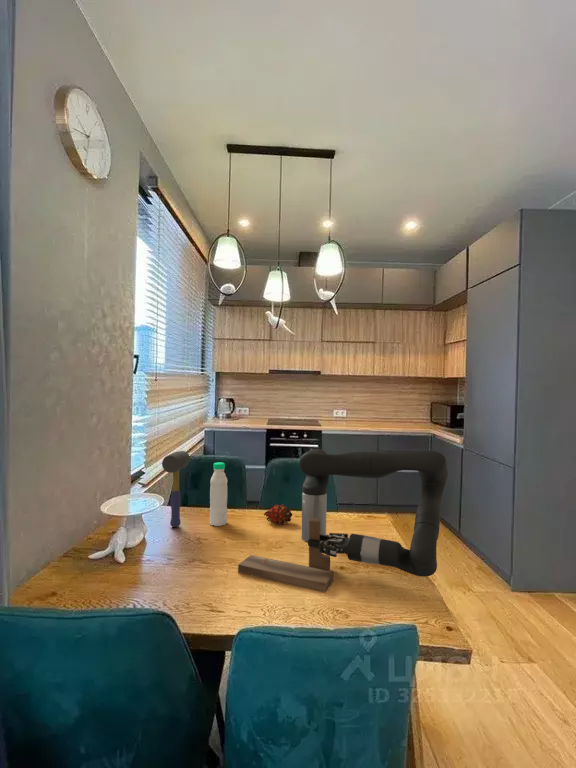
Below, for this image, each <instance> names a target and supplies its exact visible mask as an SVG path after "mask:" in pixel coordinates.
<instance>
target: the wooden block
mask: <svg viewBox="0 0 576 768" xmlns="http://www.w3.org/2000/svg"><path fill="white" fill-rule="evenodd" d="M309 539H315V540H320V518H309ZM319 550H320V549H319V548H315V547H309V546H308V567H313V568H317V569H322V570H327V571H331V556H329V555H327V554H324V553H321V552H319Z"/></svg>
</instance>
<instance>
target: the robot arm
mask: <svg viewBox="0 0 576 768" xmlns="http://www.w3.org/2000/svg"><path fill="white" fill-rule="evenodd" d="M298 461H299V462H298V465H299V469H300V470H301V472H302V473H303V474H305V479H304V481H303V484H302V489H301V490H302V491H301V492H302V493H301V539H302V541H305V542H307V546H308V548H309V547H315V548H319V549H320V550H319V552H321V553H323V554H324V555H329V556H330V557H333V558H336V557H337V554H339V555H341V554H346V556H347V558H348V560H350V561H353V562H358V563H364V564H369V565H381V566H386V567H392V568H396V569H399V570H401V571H403V572H405V573H408V574H411V575H414V576H417V577H424V578H425V577H426V578H427V577H431V576H432V575H434V574H435V573H436V571H437V569H438V561H437V559H438V558H437V543H438V542H437V541H438V539H439V535H440V534H439V533H440V525H441V524H440V523H441V508H442V507H441V505H442V497H443V494H444V490H445V487H446V483H447V480H448V475H449V472H448V463H447V459H446V457H445V455H444V454H443V453H441V452H439V451H437V450H427V449H426V450H413V451H390V452H389V451H388V452H387V451H367V450H366V451H365V450H364V451H352V452H351V451H349V452H345V453H339V454H336V453H335V454H331V453H329V454H328V453H327V452H326V451H325V450H324V449H321V448H313V449H311V450H309V451H306V452H305V453H303V454H302V455H301V456H300V458H299V460H298ZM402 471H412V472H413V471H416V472H418V476H419V478H420V482H421V483H420V485H421V496H420V499H419V502H418V505H417V509H416V510H415V511H416V512H415V516H414V527H413V535H412V536H411V537H412V538H411V542H410V546H409V549H408V548H406V547H405V548H404V547H403V546H402V544H401V543H400V542H398V541H395V540H390V539H383V538H379V537H376V536H371V535H365V534H364V535H363V534H357V533H351V534H350V535H349V534H348V533H342V532H341V533H339V532H329V534H327V502H328V501H327V498H328V497H327V493H328V491H327V490H328V486H329V482H330V481H329V480H330V476H343V477H352V478H362V479H382V478H385V477H387V476H390V475H392V474H394V473H397V472H402ZM309 518H320V540H315V539H309Z"/></svg>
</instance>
